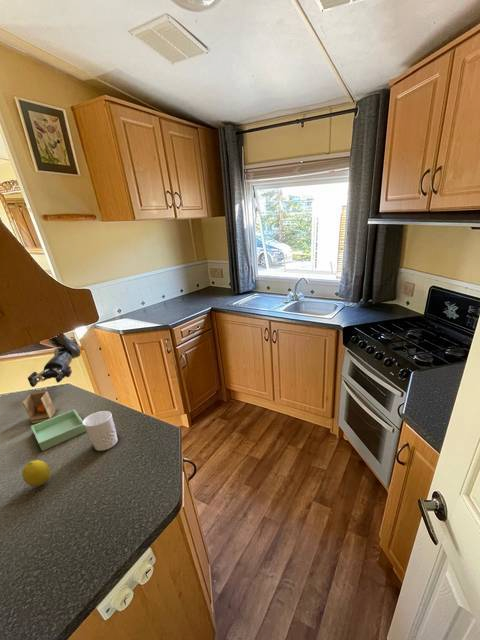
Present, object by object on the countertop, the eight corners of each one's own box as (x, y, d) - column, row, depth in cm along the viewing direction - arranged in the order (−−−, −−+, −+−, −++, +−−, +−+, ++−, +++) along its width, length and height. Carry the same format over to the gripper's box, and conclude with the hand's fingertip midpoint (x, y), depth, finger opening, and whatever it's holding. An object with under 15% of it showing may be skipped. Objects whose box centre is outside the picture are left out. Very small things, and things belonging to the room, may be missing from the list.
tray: (42, 450, 91) (38, 443, 90) (34, 433, 100) (30, 426, 99) (87, 430, 100) (85, 423, 99) (76, 415, 108) (74, 409, 107)
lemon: (58, 481, 80) (47, 458, 76) (35, 495, 76) (23, 473, 72) (48, 473, 83) (37, 451, 79) (25, 487, 78) (13, 465, 75)
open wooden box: (38, 414, 111) (29, 394, 107) (55, 411, 112) (47, 391, 108) (32, 423, 105) (22, 402, 102) (50, 419, 107) (41, 399, 103)
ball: (39, 415, 107) (36, 408, 106) (38, 412, 109) (35, 405, 108) (49, 411, 109) (46, 404, 108) (47, 409, 111) (45, 402, 110)
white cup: (91, 455, 88) (80, 429, 84) (93, 440, 95) (84, 415, 91) (119, 447, 91) (110, 421, 87) (120, 433, 98) (112, 408, 94)
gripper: (35, 361, 124) (19, 377, 110) (72, 355, 128) (62, 370, 114) (41, 376, 128) (27, 394, 114) (78, 370, 131) (68, 387, 117)
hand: (44, 382), depth 114 cm, fingers open, 8 cm apart
